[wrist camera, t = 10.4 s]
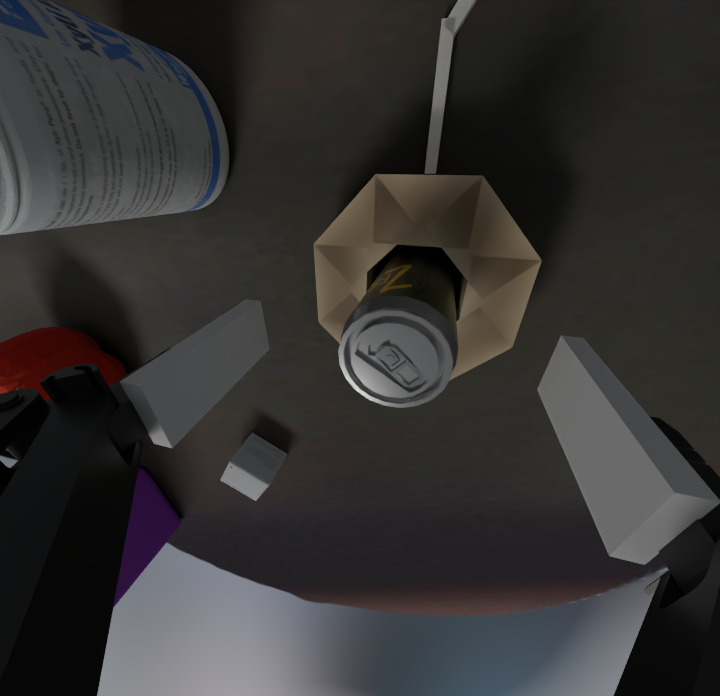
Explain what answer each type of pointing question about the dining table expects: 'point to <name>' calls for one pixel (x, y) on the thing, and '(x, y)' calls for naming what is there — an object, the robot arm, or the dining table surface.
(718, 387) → the dining table surface
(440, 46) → the drinking straw
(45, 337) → the tomato
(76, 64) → the supplement tub
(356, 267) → the tan octagonal bowl
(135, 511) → the shopping bag
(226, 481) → the small box
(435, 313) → the beer can
